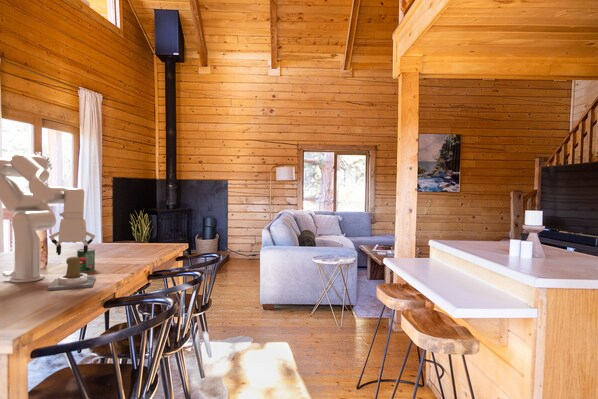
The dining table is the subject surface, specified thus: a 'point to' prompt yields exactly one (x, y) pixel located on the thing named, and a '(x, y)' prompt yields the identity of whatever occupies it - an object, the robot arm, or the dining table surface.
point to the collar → (72, 282)
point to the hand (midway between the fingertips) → (72, 254)
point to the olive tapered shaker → (73, 267)
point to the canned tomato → (86, 260)
